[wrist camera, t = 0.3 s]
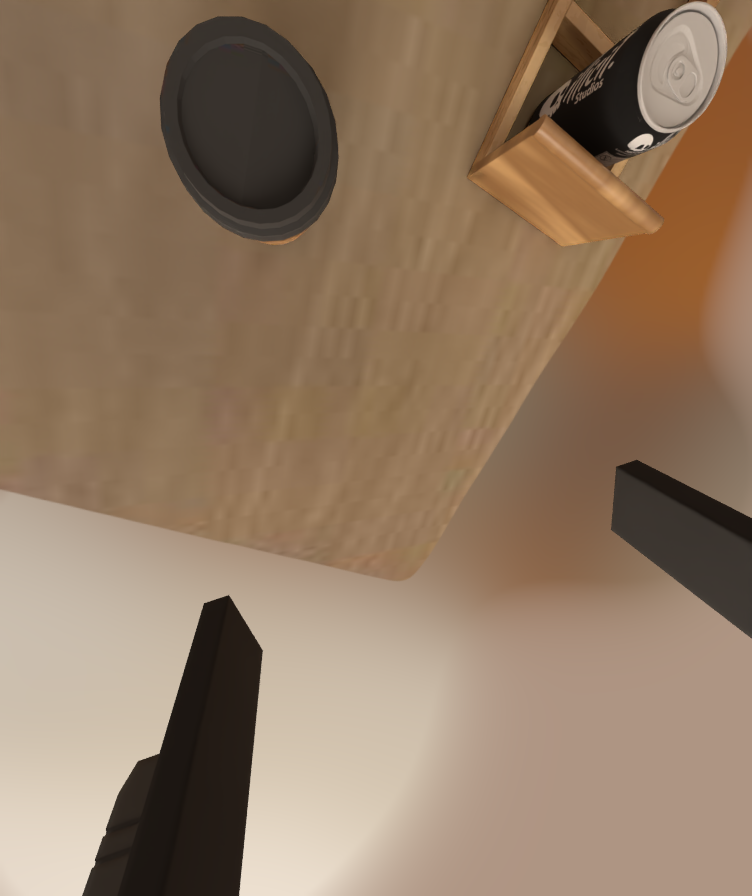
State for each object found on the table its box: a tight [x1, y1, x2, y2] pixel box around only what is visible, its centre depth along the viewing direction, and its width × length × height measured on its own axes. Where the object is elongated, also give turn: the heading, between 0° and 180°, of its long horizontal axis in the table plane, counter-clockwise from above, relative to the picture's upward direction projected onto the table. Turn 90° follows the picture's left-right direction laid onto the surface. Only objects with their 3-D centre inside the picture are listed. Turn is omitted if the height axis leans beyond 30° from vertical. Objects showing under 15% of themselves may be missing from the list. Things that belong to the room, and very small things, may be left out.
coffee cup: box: [160, 17, 338, 245], centre depth 23 cm, size 8×8×15 cm
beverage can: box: [528, 1, 727, 167], centre depth 26 cm, size 7×7×12 cm
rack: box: [467, 0, 720, 246], centre depth 25 cm, size 23×12×11 cm, turn 155°
